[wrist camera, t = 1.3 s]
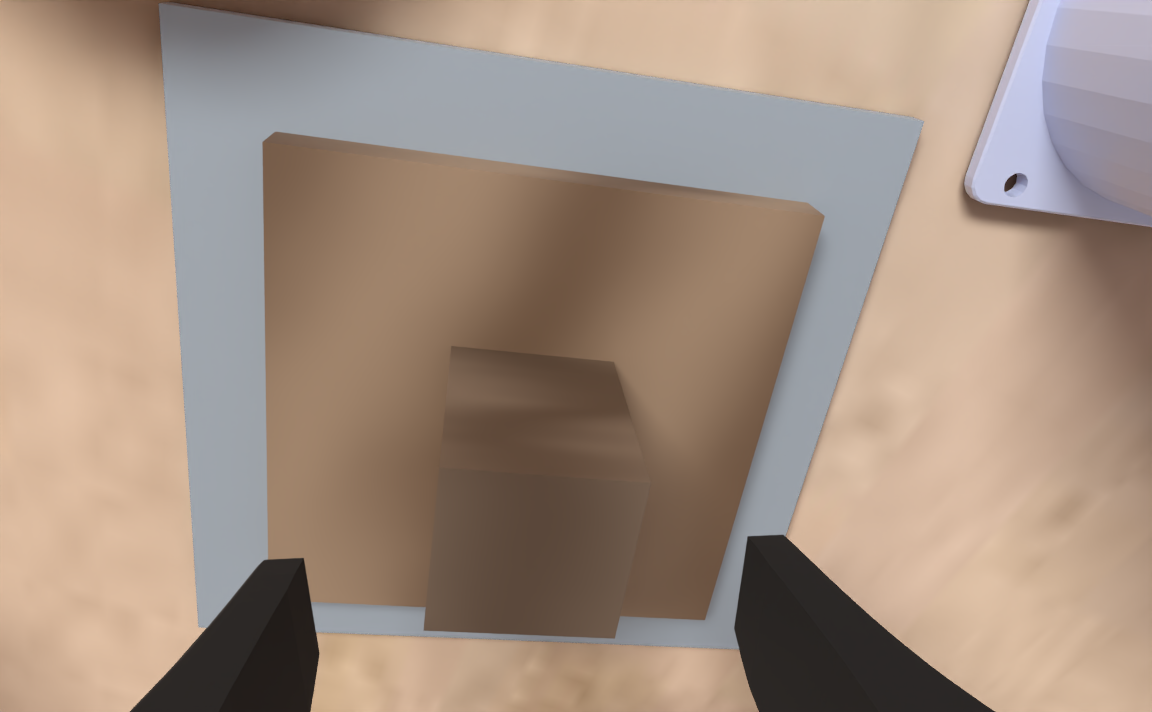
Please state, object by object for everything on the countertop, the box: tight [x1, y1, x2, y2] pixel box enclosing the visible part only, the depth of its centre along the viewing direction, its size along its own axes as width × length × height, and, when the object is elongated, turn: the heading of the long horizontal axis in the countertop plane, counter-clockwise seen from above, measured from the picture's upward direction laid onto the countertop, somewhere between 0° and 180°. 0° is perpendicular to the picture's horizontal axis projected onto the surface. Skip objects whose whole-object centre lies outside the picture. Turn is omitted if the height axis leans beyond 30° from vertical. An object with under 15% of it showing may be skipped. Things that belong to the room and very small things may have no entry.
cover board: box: [262, 131, 825, 639], centre depth 16 cm, size 11×11×6 cm
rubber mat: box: [159, 2, 924, 649], centre depth 19 cm, size 15×15×1 cm
